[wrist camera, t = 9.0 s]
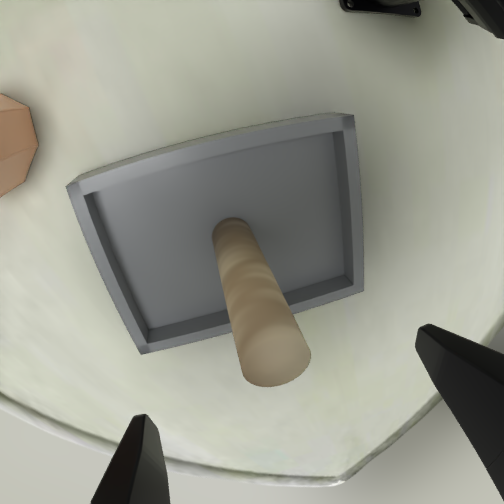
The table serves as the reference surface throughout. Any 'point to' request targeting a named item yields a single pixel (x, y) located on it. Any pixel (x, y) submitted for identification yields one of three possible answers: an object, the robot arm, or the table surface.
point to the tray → (217, 209)
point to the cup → (15, 143)
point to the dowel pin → (257, 309)
